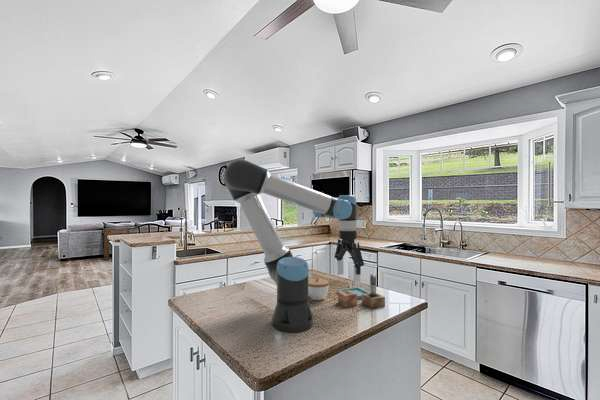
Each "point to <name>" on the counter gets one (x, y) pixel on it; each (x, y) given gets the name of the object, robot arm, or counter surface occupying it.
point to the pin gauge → (373, 285)
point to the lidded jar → (317, 288)
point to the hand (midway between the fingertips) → (348, 278)
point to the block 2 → (373, 300)
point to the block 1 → (347, 298)
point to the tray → (356, 291)
